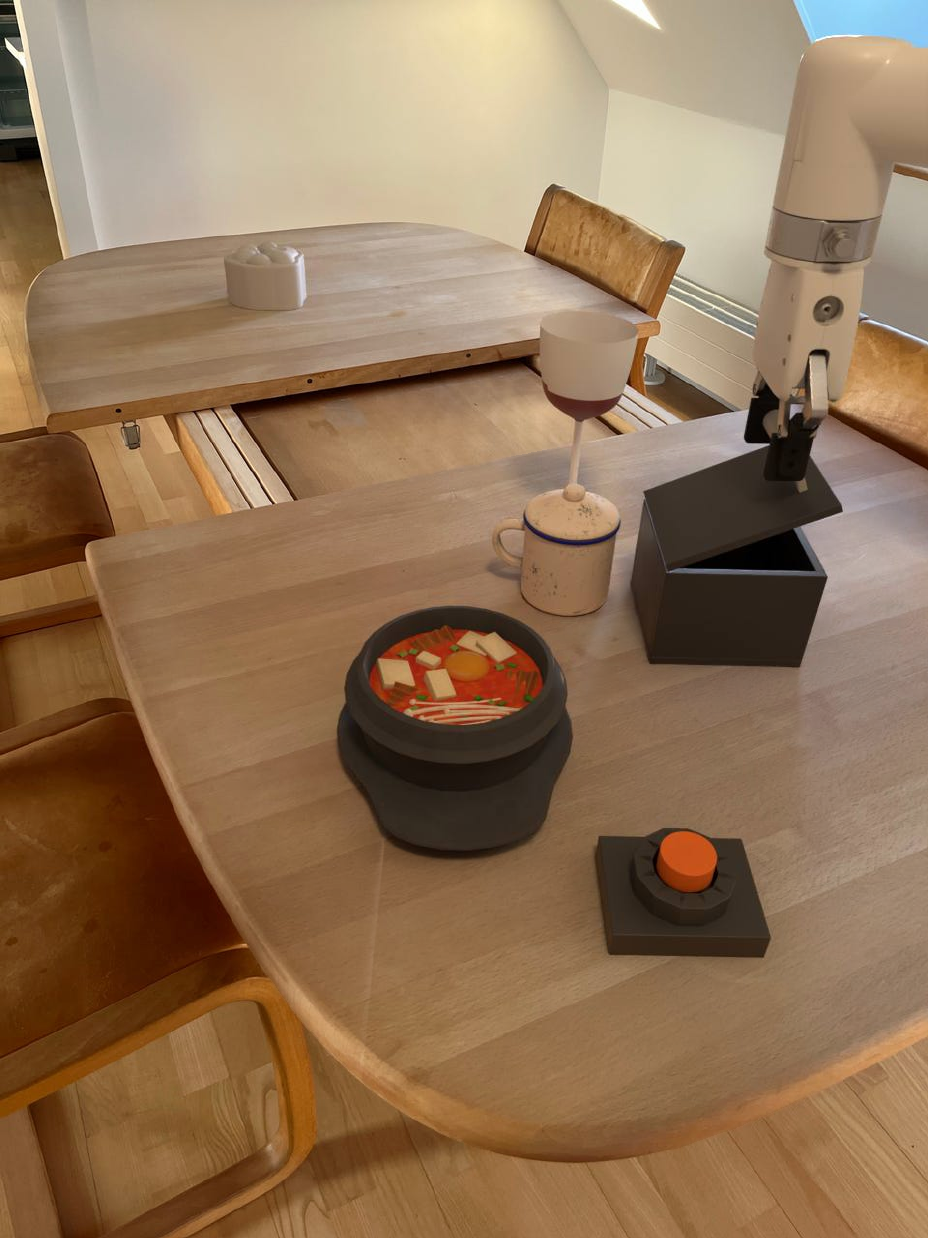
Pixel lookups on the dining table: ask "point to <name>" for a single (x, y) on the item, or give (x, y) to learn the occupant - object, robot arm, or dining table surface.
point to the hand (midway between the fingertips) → (772, 458)
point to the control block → (678, 902)
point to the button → (686, 861)
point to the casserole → (456, 727)
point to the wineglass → (585, 366)
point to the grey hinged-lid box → (728, 602)
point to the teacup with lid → (564, 550)
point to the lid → (734, 506)
